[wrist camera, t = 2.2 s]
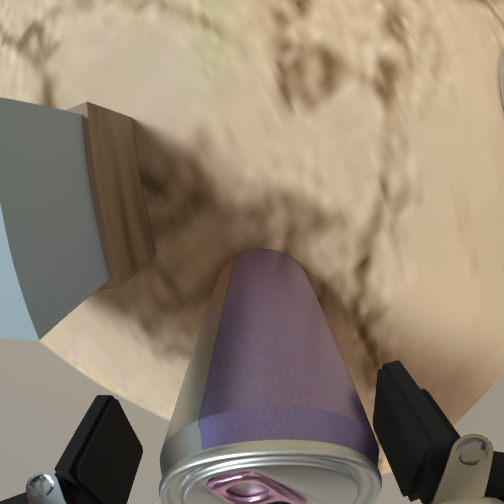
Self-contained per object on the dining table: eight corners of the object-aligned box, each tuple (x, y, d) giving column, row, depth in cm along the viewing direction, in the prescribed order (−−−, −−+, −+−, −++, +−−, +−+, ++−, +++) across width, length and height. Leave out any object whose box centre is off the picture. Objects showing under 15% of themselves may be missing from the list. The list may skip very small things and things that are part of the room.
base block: (132, 118, 17) (87, 101, 12) (156, 254, 20) (120, 287, 14) (30, 154, 18) (-25, 157, 12) (53, 270, 20) (5, 299, 14)
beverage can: (277, 227, 19) (333, 400, 4) (324, 302, 20) (411, 501, 6) (198, 278, 20) (103, 477, 5) (249, 345, 21) (241, 553, 7)
